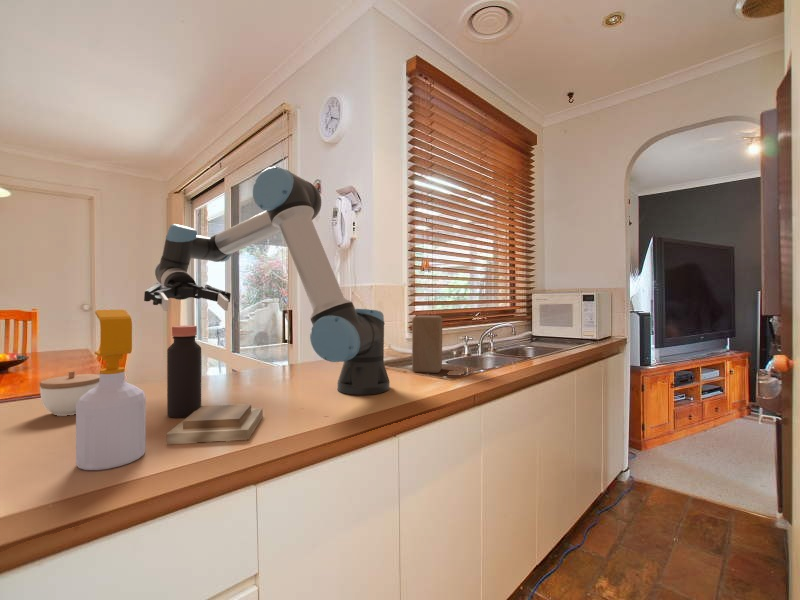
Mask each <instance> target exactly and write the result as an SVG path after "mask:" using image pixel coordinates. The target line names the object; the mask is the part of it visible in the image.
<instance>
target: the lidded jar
mask: <svg viewBox="0 0 800 600" xmlns="http://www.w3.org/2000/svg"><path fill="white" fill-rule="evenodd" d="M75 373H76V372H75V371H74V370H72V371H71V370H70V371H68V375H60V376H54V377H50V378H46V379H43V380H41V381H39V387H40V389H39V390H40V398H41V403H42V404H43V406H44V408H45V410H47V411H49V412H50V413H52V414H53V416H54V415H57V416H56V417H68V416H67V415H70V416H75V415H74V414H76V405H77V402H78V400H79V398H81V397H82V396H83V395H84V394H85V393H86V392H88V391H89V390H91V389H93V388H94V387H96V386H97V385H98V384H99V383H100V374H97V373H95V374H93V373H83V374H82V373H80V374H78V373H77V374H75Z"/></svg>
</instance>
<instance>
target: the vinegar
mask: <svg viewBox="0 0 800 600" xmlns="http://www.w3.org/2000/svg"><path fill="white" fill-rule="evenodd" d="M197 330H198V328H197V325H173V326H172V327H171V336H172V338H171V339H173V342H172V343H171V345H170V346H169V347H168V348H167V351H166V352H167V353H166V357H167V358H166V359H167V362H166V363H167V364H166V366H167V367H166V369H167V371H166V372H167V373H166V374H167V375H166V381H167V383H166V388H167V391H166V392H167V393H166V399H167V401H166V403H167V404H166V405H167V406H166V407H167V408H166V415H167V417H169V418H172V419H181V418H187V417H188V416H189V415H190V414H192V413H193V412H194V411H196V410H198V409H199V408H200V407H201V406H202V347H201V346H200V345H199V343H197V342H196V338H197V336H198V333H197V332H198V331H197Z"/></svg>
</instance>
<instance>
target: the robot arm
mask: <svg viewBox="0 0 800 600" xmlns="http://www.w3.org/2000/svg"><path fill="white" fill-rule="evenodd" d="M252 198H253V201H254V203H255V205H256V206H257V207H258V208H259V209H261V210H262V212H259V213H258V214H256V215H254V216H252V217H250V218H247V219H246V220H243V221H241V222H240V223H237V224H235V225H234V226H231V227H228V228H226V229H225V230H223V231H221V232H219V233H217V234H215V235H213V236H203V235H198V230H197V229H195V228H192V227H189V226H186V225H181V224H178V223H177V224H176V223H172V224H170V225H169V227H168V230H167V233H166V236H165V242H164V246H163V252H162V255H161V257H160V261H159V264H157V265H156V267H155V269H154V274H155V278H156V281H157V282H156V283H154V285H153V286H150V287H149V288H148V289H146V290H144V294H143V295H144V297H143V301H144V302H151V301H152V305H153V306H159V305H160V306H161V309H162V310H163V311H165V312H168V310H169V302H170V301H169V299H175V300H178V301H179V300H180V301H182V300H187V299H190V298H193V299H196V300H197V299H198V300H199V299H204V300H208V301H213V302H216V303H217V305H218V306H219V307H220V308H222V310H223V311H228V310H229V303H230V302H231V296H232V295H231V294H232V293H231V292H228V291H225V290H222V289H218V288H216V287H213V286H211V285H210V284H206V285H205V286H204V287H203V286H202V285H198V284H197V283H196V281H195V279H194V278H193V277H192V276H191V275H190V274H189V273H188V270H189V266H190V263H191V259H193V260H194V259H195V260H201V261H202V260H204V261H208V262H209V261H210V262H214V263H219V262H221V263H223V262H227V261H228V260H229V259H230V258H231V257H232V255H233V253H236V252H237V251H240V250H243V249H245V248H246V247H248V246H251V245H254V244H256V243H258V242H260V241H262V240H264V239H267V238H269V237H271V236H274V235H276V234H278V233H282V236H283V239H284V241H285V244H286V246H287V249H288V251H289V253H290V256H291V258H292V261H293V264H294V265H295V268H296V271H297V274H298V276H299V278H300V281H301V283H302V286H303V288H304V291H305V294H306V296H307V298H308V301H309V304H310V305H311V308H312V313H311V315H310V322H311V323H312V327H311V332H310V334H309V337H310V338H309V339H310V344H311V346H312V348H313V351H314V352H315V354H316V355H318V357H320V358H321V359H323V360H325V361H327V362H331V363H339V362H340V363H342V362H343V364H342V367H341V370H340V373H339V376H338V379H337V391H338V392H339V393H343V394H347V395H354V396H355V395H357V396H358V395H359V396H363V395H364V396H366V395H367V396H369V395H377V394H378V395H379V394H383V393H385V392H388V391H389V390H390V389H391V387H390V385H391V384H390V383H391V382H390V379H389V376H388V372H387V369H386V365H385V361H384V360H385V359H384V356H385V355H384V354H385V352H384V351H385V349H384V348H385V318H384V314H383V312H382V311H380V310H378V309H376V310H375V309H369V308H355V305H354V303H353V302H352V300H349V299H347V298H345V297H344V294H343V292H342V290H341V289H342V288H341V287H340V285H339V282H338V280H337V278H336V275H335V273H334V269H333V268H332V265H331V263H330V260H329V258H328V256H327V253H326V251H325V249H324V247H323V246H324V245H323V244H322V241H321V239H320V236H319V234H318V232H317V230H316V227H315V224H314V222H313V220H314V219H315V218H317V216H318V215H319V214H320V211H321V209H322V197H321V194H320V192H319V190H318V189H317V187H316V186H315V185H314V184H313V183H311V182H309V181H307V180H305V179H304V178H301V177H300V176H298V175H297V174H294V173H292V172H291V171H289V170H288V169H285V168H283V167H279V166H271V167H267V168H266V169H264V170H263V171H261V172H260V173H259V175H258V176H256V179H255V182H254V184H253V187H252Z"/></svg>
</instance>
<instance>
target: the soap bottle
mask: <svg viewBox="0 0 800 600" xmlns="http://www.w3.org/2000/svg"><path fill="white" fill-rule="evenodd" d="M94 314H95V315H96V317H97V318H98V321H99V324H100V325H99V326H100V336H99V337H100V349H99V350H96V351H94V355H95V356H98V357H101V360H102V361H105V362H106V363H105V368H101V369H99V375H100V383H99V384H98V385H97V386H96V387H94V388H93V389H91V390H89V391H88V392H86V393H85V394H84V395H83V396H82V397H81V398H79V400H78V402H77V405H76V415H75V464H76V465H77V467H78V468H79V469H81V470H85V471H102V470H110V469H115V468H119V467H122V466H125V465H128V464H131V463H133V462H135V461H137V460H138V459H140V458H141V457H143V456H144V454H145V453H146V447H147V446H146V445H147V444H146V442H147V441H146V440H147V439H146V436H147V435H146V429H147V428H146V419H147V418H146V417H147V416H146V409H147V408H146V404H147V403H146V398H147V396H146V394H145V392H144V390H143V389H141V388H139V387H137V386H136V385H134V384H132V383H128V382H127V381H126V371H125V370H126V369H125V367H123V366H120V365H119V363H120V362H119V361H120V360H122V359H123V357H124V356H123V355H126V354H127V355H128V354H132V350H133V321H132V316H130V314H129V313H128V312H127V311H126V310H125V309H96V310H95V312H94Z"/></svg>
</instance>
